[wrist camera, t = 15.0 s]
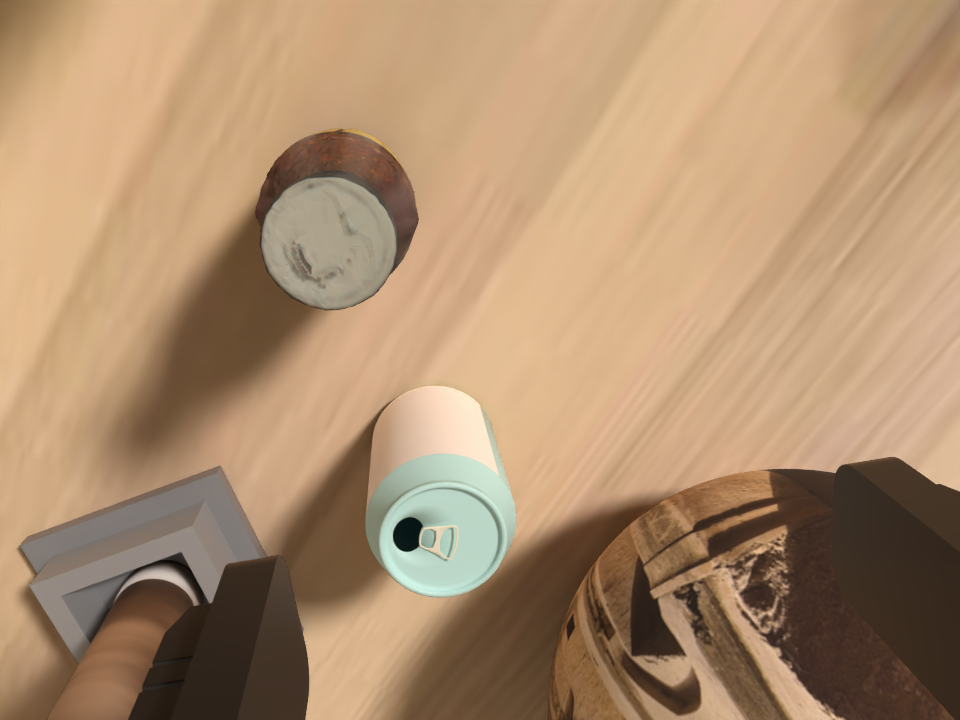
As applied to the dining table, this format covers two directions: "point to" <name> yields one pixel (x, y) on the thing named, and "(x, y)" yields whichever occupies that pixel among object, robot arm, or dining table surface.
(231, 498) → the holder
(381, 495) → the can
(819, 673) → the sphere
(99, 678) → the handle
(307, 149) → the sauce bottle
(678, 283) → the dining table surface
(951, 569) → the robot arm
